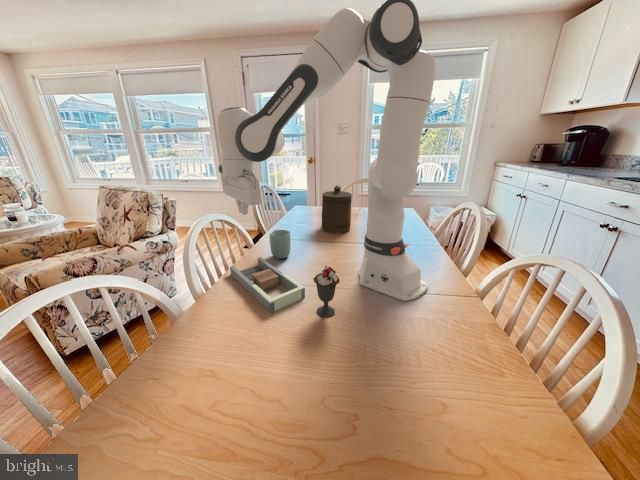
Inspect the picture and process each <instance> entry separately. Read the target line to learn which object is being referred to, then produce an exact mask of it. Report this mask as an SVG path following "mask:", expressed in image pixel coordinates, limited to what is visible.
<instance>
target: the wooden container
mask: <svg viewBox="0 0 640 480" xmlns="http://www.w3.org/2000/svg"><path fill="white" fill-rule="evenodd" d="M333 189H334V190H333V191H324V192H322V199H321V200H322V205H321V230H322V231H323V232H326V233H331V234H344V233H347V232H349V231H350V230H351V222H352V200H353V194H352V193H351V192H348V191H343V190H342V187H341V186H340V185H335V186H334V187H333Z"/></svg>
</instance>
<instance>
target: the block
mask: <svg viewBox="0 0 640 480" xmlns="http://www.w3.org/2000/svg"><path fill="white" fill-rule="evenodd" d="M252 279H253V280H252V283H253V284H256V285H257V286H258V287H259V288H261V289H262V290H263V291H264V292H265V293H266V292H269V291H272V290H274V289H277V288H280V287H279V286H280V282H279V280H278V276H277V275H276V274H275V273H274V272H273V271H271V270H270V269H267V270H264V271H261V272H258V273H254V274H252Z"/></svg>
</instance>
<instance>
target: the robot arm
mask: <svg viewBox="0 0 640 480" xmlns="http://www.w3.org/2000/svg"><path fill="white" fill-rule="evenodd" d="M419 17H420V16H419V13H418V10H417V7H416V5H415V4H414V2H413V1H412V0H385V1H384V2H383V3H381V5H379V7H378V8H377V9H376V10H375V12H374V14H373V15H372V18H371V20H367V19H364V18H363V17H362V16H361V15H360V14H359V13H358V12H357V11H356V10H354V9H352V8H349V7H345V8H342V9H340V10H339V11H337V12H336V13H335V14H334V15H333V16H332V17H331V18H330V19H329V20H328V21H327V22H326V23H325V24H324V25H323V26H322V27H321V28H320V30H319V31H318V32H317V34H316V35H315V36H314V37H313V38H312V40H311V41H310V42H309V44H308V45H307V47H306V49H305V50H304V51H303V52H302V55H300V57H299V59H298V61H297V62H296V64H295V66H294V67H293V69H292V70H291V72H289V73H290V74H289V75H288V77H286V78H285V80H284V81H283V82H282V84H281V85H280V86H279V88H277V90H276V91H275V92H274V93H273V94H272V96H271V97H270V99H269V100H268V101H267V102H266V103H265V105H264V106H263V107H262V108H261V109H260V110H259V111H258V112H257V113H255V114H253V113H251V112H250V111H248V110H247V109H246V108H244V107H241V106H236V107H234V106H232V107H228V108H225V109H222V110H221V111H220V112H219V113H218V114H217V115H218V116H217V133H218V141H219V146H220V149H221V157H220V159H221V163H220V164H219V165H218V168H217V169H218V173H219V174H220V179H221V185H222V190H223V193H224V194H225V196H228V197H230V198H231V199H232V198H233V199H235V203H236V206H237V208H238V213H239V214H241V215H244V216H245V215H248V214H249V210H248V209H249V206H256V205H260V204H261V203H262V192H261V186H260V182H259V179H258V178H257V176H255V168H254V163H261V162H264V161H266V160H267V159H269V158H272V157H274V156H276V155H278V154H279V153H280V152H281V151H282V149H283V148H284V144H285V136H284V133H283V131H282V130H283V129H284V128H285V126H286V125H287V124H288V123H289V121H291V119H293V117H294V116H295V115H296V113H297V112H298V111H299V110H300V109H301V107H303V105H305V104H307V103H308V102H309V101H311V100H314V99H317V98H321V97H323V96H326V94H328V93H329V92H330V91H332V90H333V89H334V88H335V87H336V86H337V84H338V83H339V82H340V81H342V79H343V78H344V76H345V75H346V74H347V73H348V72H349V70H350V69H351V68H352V67H353V66H354V65H355V64H356V63H357V62H358V63H359V64H360V65H362V66H364V67H365V68H367V69H369V70H371V71H373V72H374V73H380V74H381V73H386V72H387V73H388V75H389V87H388V91H387V96H386V99H385V105H384V110H383V116H382V121H381V124H380V129H379V141H378V142H379V143H378V148H377V149H378V151H377V157H376V158H375V159H374V160H373V161H372V163H371V164H370V166H369V170H368V184H367V186H368V187H367V219H366V221H367V222H366V233H365V236H364V240H363V247H364V252H363V258H362V260H361V261H362V262H361V265H360V268H359V270H358V277H359V284H360V285H361V286H364V287H366V288H368V289H371V290H374V291H376V292H379V293H382V294H384V295H386V296H389V297H392V298H394V299H397V300H399V301H402V302H404V301H405V302H406V301H413V300H414V299H417V298H419V297H421V296H422V295H424V294H425V293H426V291H427V289H428V282H427V281H425V280H424V279H422V273H421V272H422V271H421V268H420V266H419V265H418V264H417V263H416V262H415V261H414V260H413V258H412V257H411V256H410V255H409V254H408V253H407V252H406V248H408V247H409V242H408V243H404V239H403V229H404V223H405V222H404V221H405V213H406V212H405V209H404V208H405V207H404V206H405V205H404V203H405V202H404V198H406V197H408V196H410V195H411V194H412V193H413V192H414V190H415V189H416V186H417V184H418V165H419V159H420V158H419V156H420V147H421V138H422V133H423V129H424V125H425V122H426V118H427V117H426V116H427V115H428V114H427V113H428V109H429V105H430V102H431V98H432V93H433V89H434V88H433V86H434V82H435V76H436V75H435V73H436V60H435V58H434V56H433V55H432V54H431V53H430V52H428V51H426V50H423V49H422V50H421V47H422V43H423V38H422V33H421V29H420V19H419ZM420 295H421V296H420Z"/></svg>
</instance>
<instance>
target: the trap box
mask: <svg viewBox="0 0 640 480" xmlns="http://www.w3.org/2000/svg"><path fill="white" fill-rule="evenodd" d="M267 269H270V270H271V271H273V272H274V273H275V274H276V275H277V276H278V280H279V284H280V283H281V284H282V285H283V286H284V287H286V288H287V289H288V291H285V292H283V293H281V294H277V296H274V297H271V296H270V295H269V294H267V293H266V292H264V291H263V290H262V289H261V288H259V287H258V286H257V285H256V284H253V279H252V274H254V273H258V272H261V271H264V270H267ZM229 270H230V275H231V276H232V277H233V278H234V279H236V281H237V282H238V283H239V284H240V285H241V286H242V287H244V289H245V290H246V291H248V293H249V294H251V295H252V297H254V298H255V299H256V301H258V302H259V303H260V304H261V305H262V306H263V308H265V309H266V310H267V311H268V312H269V313H271V314H272V313H274V312H277V311H279V310H280V309H283V308H286V307H287V306H290V305H291V304H294V303H296V302H298V301H300V300H303V299H305V298H306V291H305V289H306V287H305V286H304V285H302V284H301V283H300V282H298V281H297V280H295V279H294V278H292V277H291V276H290V275H288V274H286V273H284V272H282V271H281V270H279V269H278V268H277V267H275V266H274V265H272V264H271V263H269V262H268V261H266V260H265V259H264V258H262V257H257V264H256V265H253V266H251V267H248V268H244V269H242V270H239V269H238V268H237V267H236V266H234V265H230V266H229Z"/></svg>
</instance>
